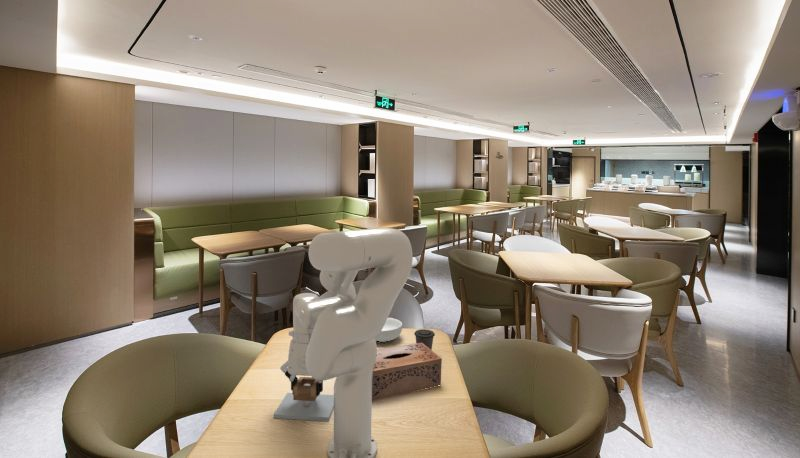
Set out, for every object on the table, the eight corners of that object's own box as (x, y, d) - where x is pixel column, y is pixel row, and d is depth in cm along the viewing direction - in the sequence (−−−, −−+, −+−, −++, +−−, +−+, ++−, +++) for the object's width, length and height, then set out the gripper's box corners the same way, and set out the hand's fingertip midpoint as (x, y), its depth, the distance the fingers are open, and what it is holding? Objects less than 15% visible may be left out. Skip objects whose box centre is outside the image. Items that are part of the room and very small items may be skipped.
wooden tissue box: (314, 401, 121) (314, 388, 121) (293, 400, 121) (293, 387, 121) (320, 390, 127) (320, 377, 127) (300, 389, 128) (299, 376, 127)
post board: (328, 421, 118) (328, 397, 117) (273, 418, 119) (273, 394, 118) (337, 398, 130) (337, 377, 129) (287, 396, 131) (287, 374, 130)
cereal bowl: (386, 329, 191) (386, 314, 190) (409, 340, 178) (410, 324, 177) (355, 337, 180) (355, 322, 179) (378, 350, 167) (378, 333, 166)
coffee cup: (433, 360, 159) (434, 335, 157) (412, 358, 160) (413, 334, 159) (434, 352, 167) (435, 328, 165) (414, 350, 168) (415, 326, 167)
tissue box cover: (421, 368, 153) (422, 342, 152) (440, 386, 140) (441, 358, 139) (354, 381, 142) (354, 353, 141) (368, 402, 129) (369, 371, 128)
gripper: (273, 339, 119) (274, 398, 121) (332, 342, 118) (332, 401, 120) (282, 329, 126) (282, 385, 128) (338, 332, 125) (338, 388, 127)
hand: (307, 392), depth 124 cm, fingers open, 6 cm apart
